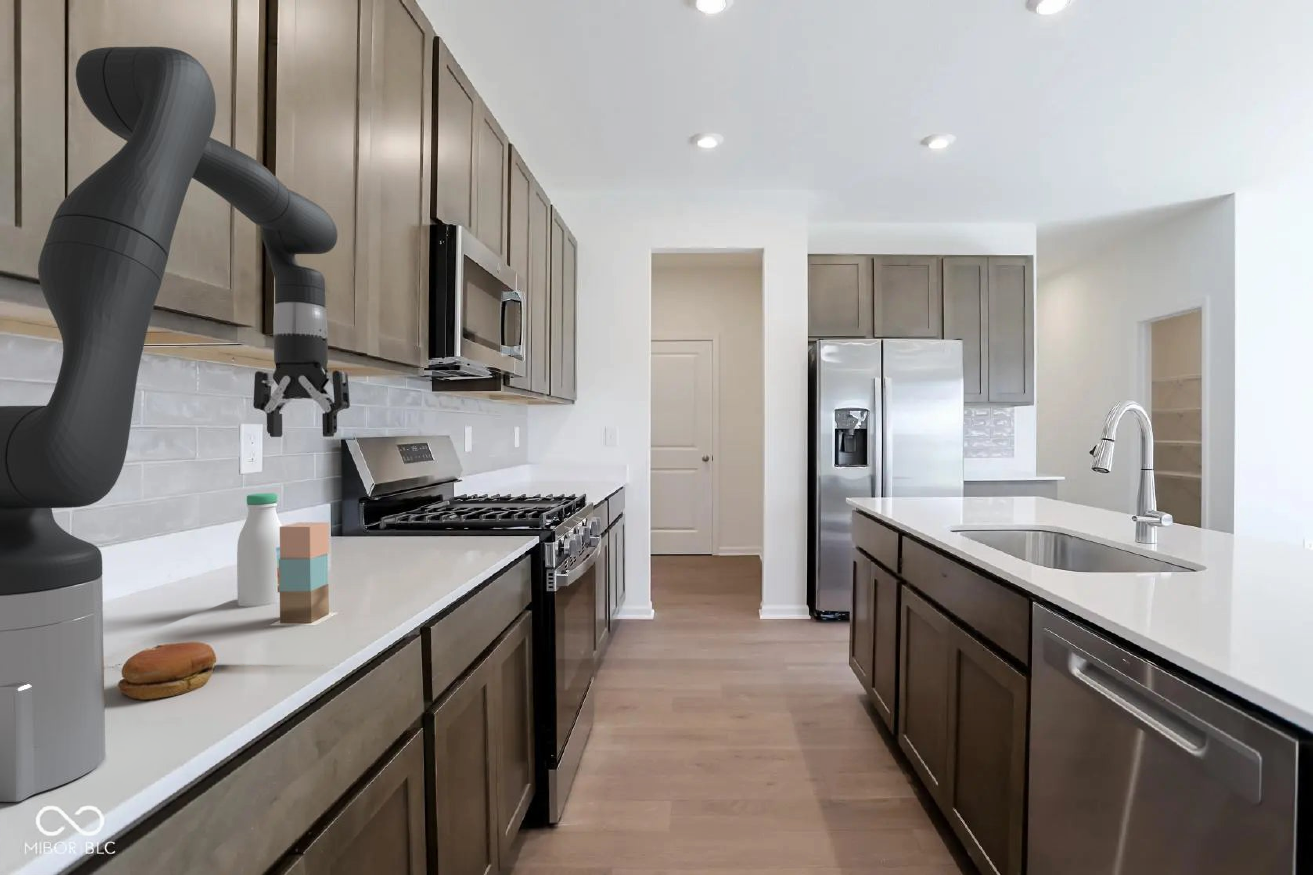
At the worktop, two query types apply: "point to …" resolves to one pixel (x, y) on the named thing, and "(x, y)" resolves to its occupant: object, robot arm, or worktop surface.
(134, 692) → the burger
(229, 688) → the worktop surface
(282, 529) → the terracotta block
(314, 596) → the walnut block
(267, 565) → the milk bottle
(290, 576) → the teal block
